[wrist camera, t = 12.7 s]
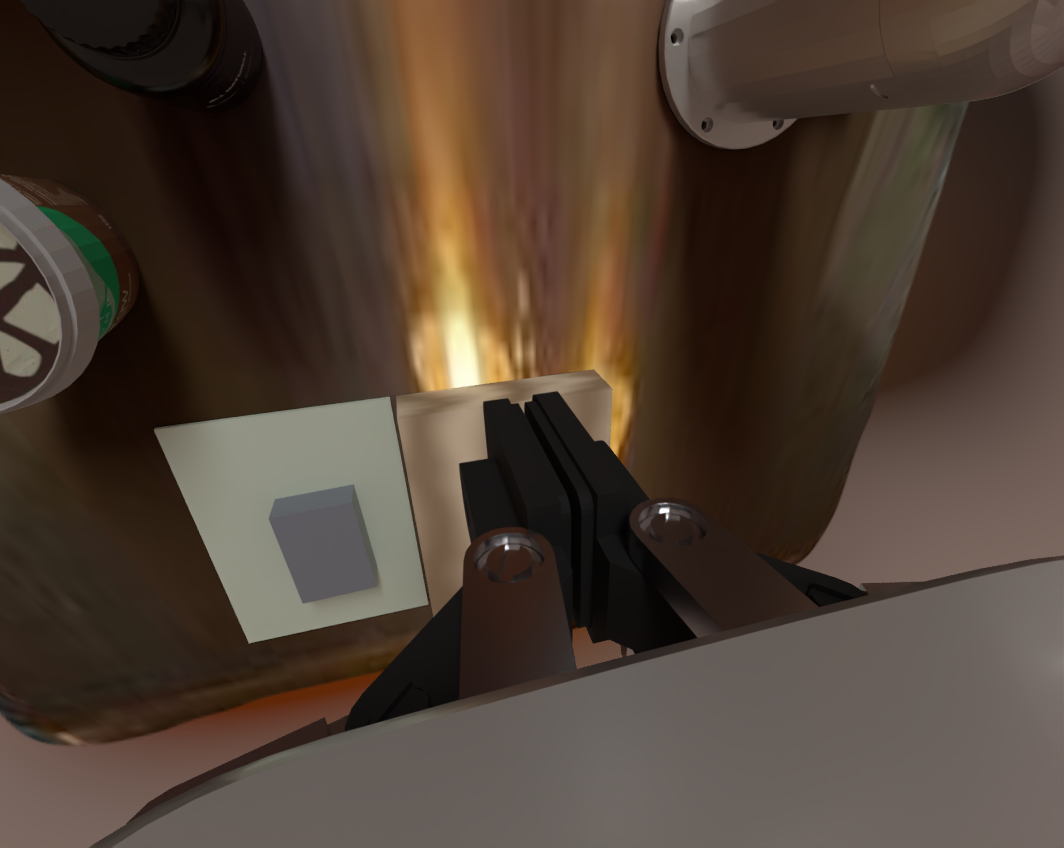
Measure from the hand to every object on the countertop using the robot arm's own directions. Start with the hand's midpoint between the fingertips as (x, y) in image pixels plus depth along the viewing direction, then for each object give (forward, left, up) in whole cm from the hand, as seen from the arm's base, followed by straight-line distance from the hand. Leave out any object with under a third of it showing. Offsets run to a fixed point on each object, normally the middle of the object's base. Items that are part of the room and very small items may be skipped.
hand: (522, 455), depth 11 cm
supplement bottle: (+11, -12, -27) cm, 32 cm away
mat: (+12, +21, -27) cm, 36 cm away
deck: (-4, +21, -27) cm, 35 cm away
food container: (+20, 0, -27) cm, 34 cm away
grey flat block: (+11, +22, -24) cm, 35 cm away
